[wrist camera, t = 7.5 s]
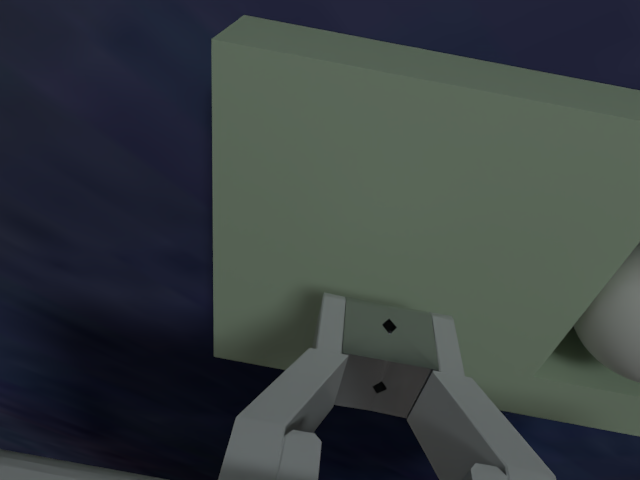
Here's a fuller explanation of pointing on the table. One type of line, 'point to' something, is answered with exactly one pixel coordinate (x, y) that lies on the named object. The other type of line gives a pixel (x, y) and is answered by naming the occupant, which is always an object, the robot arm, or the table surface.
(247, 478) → the robot arm
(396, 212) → the putting board
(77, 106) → the table surface
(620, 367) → the ball
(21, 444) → the table surface
